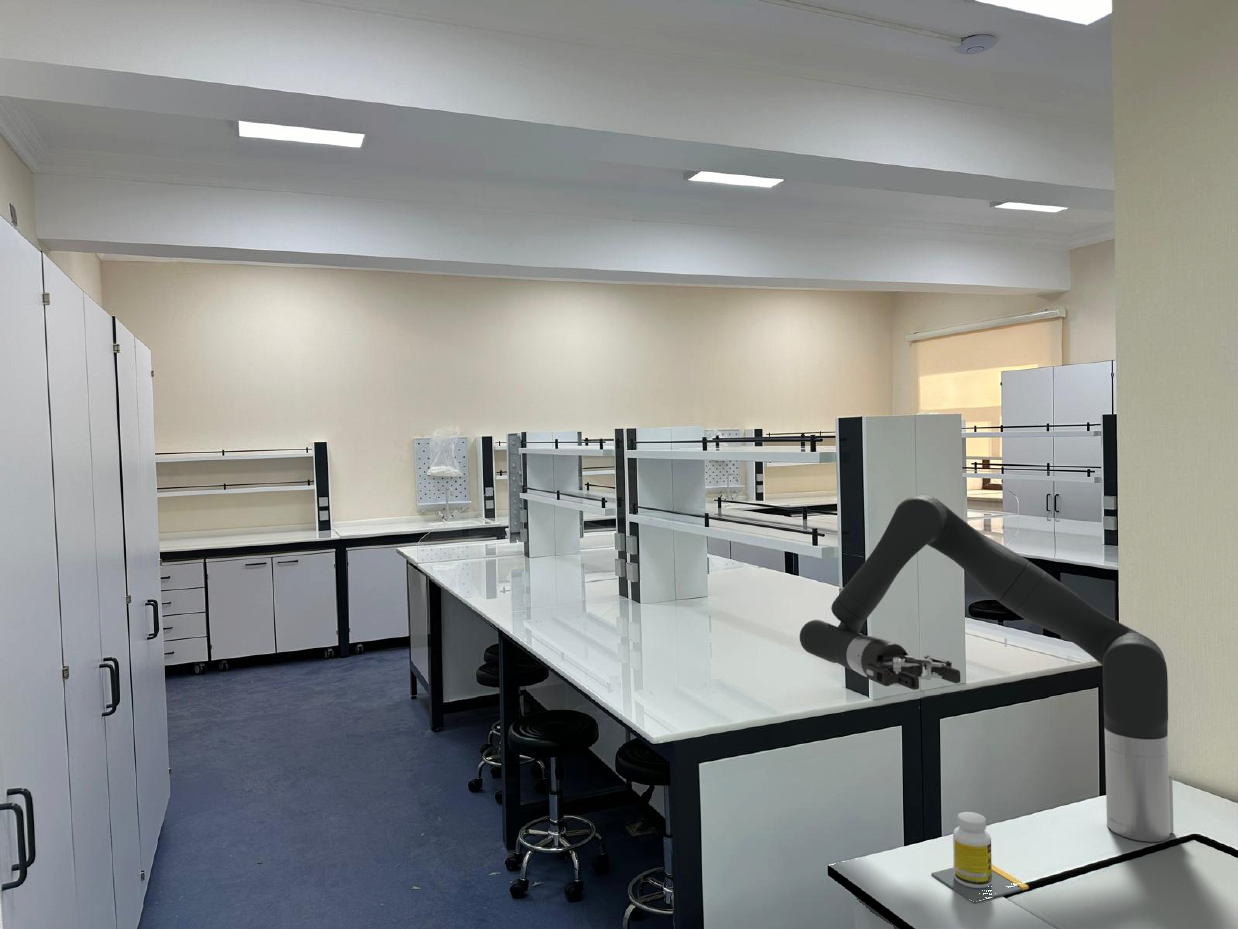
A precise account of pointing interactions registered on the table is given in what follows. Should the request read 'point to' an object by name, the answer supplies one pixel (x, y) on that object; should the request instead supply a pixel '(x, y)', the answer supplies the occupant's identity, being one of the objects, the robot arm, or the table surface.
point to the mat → (998, 887)
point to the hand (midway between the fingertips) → (938, 680)
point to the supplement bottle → (972, 851)
